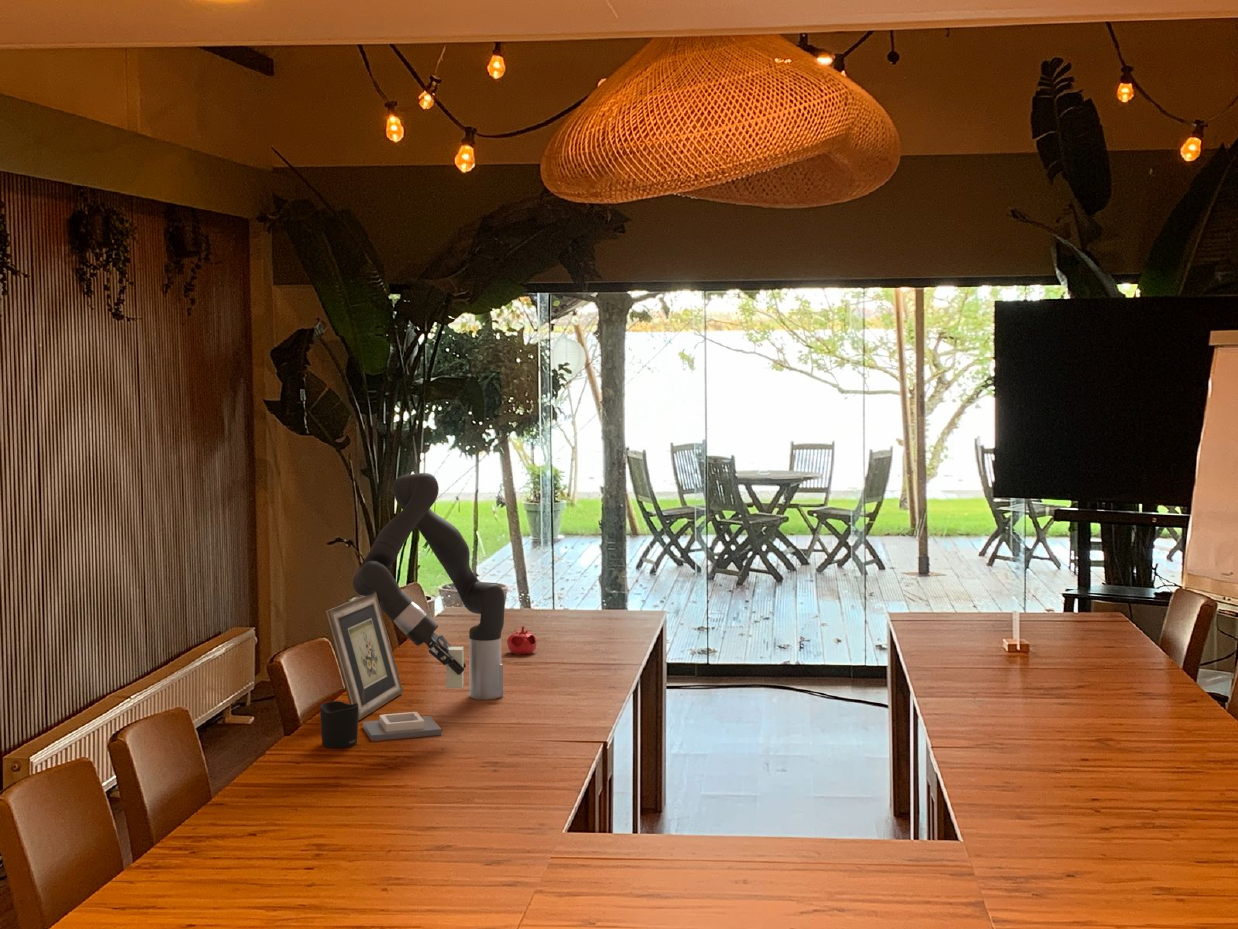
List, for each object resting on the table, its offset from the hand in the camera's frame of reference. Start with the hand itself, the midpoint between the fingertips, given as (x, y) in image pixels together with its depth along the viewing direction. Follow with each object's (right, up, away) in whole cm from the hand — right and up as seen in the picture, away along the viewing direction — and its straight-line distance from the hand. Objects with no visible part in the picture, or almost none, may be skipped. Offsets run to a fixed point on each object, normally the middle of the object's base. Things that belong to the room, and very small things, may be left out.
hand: (462, 670), depth 325 cm
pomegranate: (+7, -11, +104) cm, 104 cm away
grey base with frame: (-17, -17, +5) cm, 24 cm away
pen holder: (-30, -18, -7) cm, 36 cm away
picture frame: (-31, -15, +30) cm, 46 cm away
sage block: (-2, -4, 0) cm, 5 cm away
